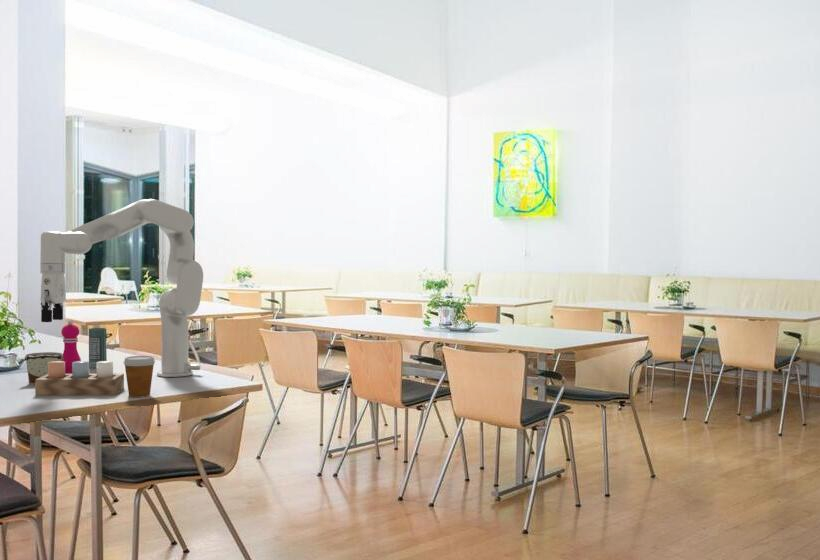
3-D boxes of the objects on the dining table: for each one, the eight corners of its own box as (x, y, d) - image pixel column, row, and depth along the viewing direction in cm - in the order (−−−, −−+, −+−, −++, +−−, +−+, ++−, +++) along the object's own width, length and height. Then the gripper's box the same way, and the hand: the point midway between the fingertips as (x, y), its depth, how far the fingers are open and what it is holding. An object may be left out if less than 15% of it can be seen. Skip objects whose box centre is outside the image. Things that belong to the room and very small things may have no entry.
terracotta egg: (67, 380, 267) (67, 361, 267) (62, 383, 262) (62, 363, 262) (51, 380, 267) (51, 361, 266) (45, 383, 262) (45, 363, 261)
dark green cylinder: (108, 366, 322) (108, 328, 321) (101, 368, 316) (101, 329, 315) (94, 366, 322) (93, 327, 322) (86, 368, 316) (86, 329, 316)
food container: (64, 379, 289) (64, 351, 288) (63, 382, 283) (63, 353, 282) (25, 381, 284) (25, 352, 284) (24, 384, 278) (24, 354, 278)
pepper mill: (73, 377, 295) (73, 321, 294) (55, 376, 296) (55, 320, 295) (85, 374, 302) (85, 319, 301) (67, 373, 303) (67, 319, 302)
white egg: (114, 380, 268) (114, 361, 268) (110, 383, 264) (110, 363, 263) (99, 380, 268) (98, 361, 268) (94, 383, 263) (94, 363, 263)
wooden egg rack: (123, 388, 272) (123, 373, 272) (114, 395, 260) (114, 379, 260) (48, 388, 270) (48, 373, 270) (35, 395, 258) (35, 379, 258)
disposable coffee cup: (118, 395, 260) (118, 357, 260) (146, 391, 267) (146, 354, 266) (132, 399, 253) (132, 360, 253) (160, 395, 260) (160, 357, 260)
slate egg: (91, 380, 268) (91, 361, 268) (86, 383, 263) (86, 363, 263) (75, 380, 267) (75, 361, 267) (70, 383, 262) (70, 363, 262)
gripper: (54, 269, 264) (54, 323, 264) (73, 268, 281) (73, 319, 281) (30, 269, 263) (30, 322, 264) (51, 268, 281) (50, 318, 281)
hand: (52, 320), depth 273 cm, fingers open, 9 cm apart
